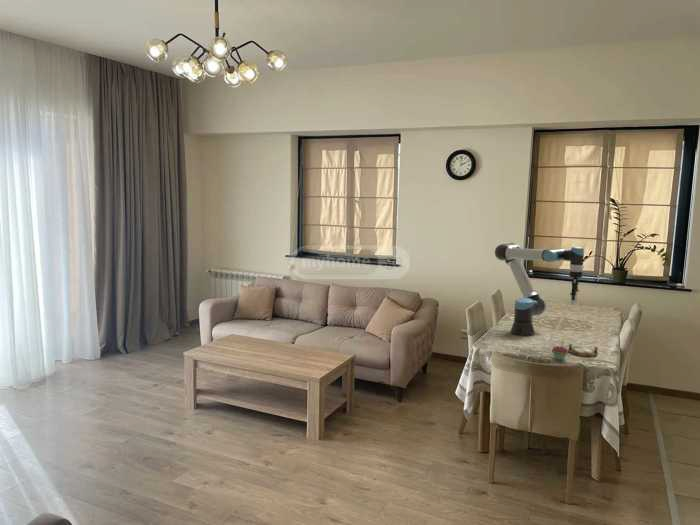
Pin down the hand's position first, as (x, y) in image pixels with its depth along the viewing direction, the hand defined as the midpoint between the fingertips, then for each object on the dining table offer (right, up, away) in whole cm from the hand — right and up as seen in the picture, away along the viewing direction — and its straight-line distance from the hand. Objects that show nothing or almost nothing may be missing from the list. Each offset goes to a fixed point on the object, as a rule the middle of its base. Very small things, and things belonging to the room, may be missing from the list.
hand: (573, 303), depth 342 cm
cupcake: (-25, -29, -40) cm, 56 cm away
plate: (-7, -28, -29) cm, 40 cm away
